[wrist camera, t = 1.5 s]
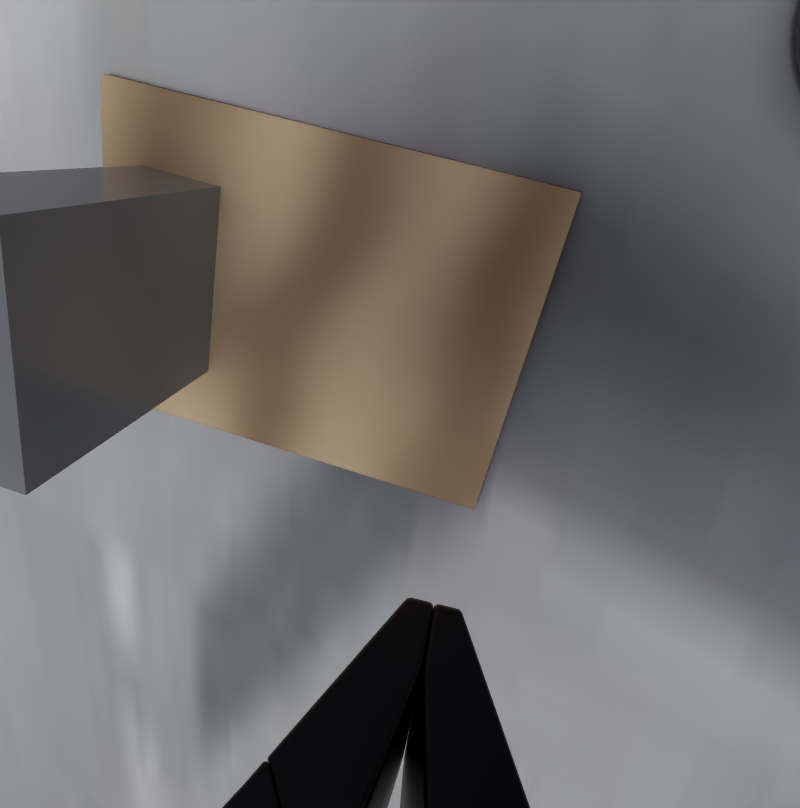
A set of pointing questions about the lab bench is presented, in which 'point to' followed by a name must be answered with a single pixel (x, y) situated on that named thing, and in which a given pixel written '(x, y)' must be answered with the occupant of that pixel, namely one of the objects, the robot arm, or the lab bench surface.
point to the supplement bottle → (798, 40)
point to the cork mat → (353, 287)
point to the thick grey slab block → (97, 306)
